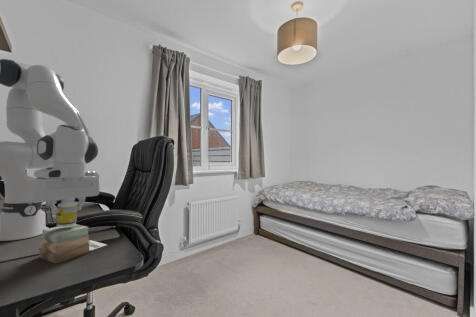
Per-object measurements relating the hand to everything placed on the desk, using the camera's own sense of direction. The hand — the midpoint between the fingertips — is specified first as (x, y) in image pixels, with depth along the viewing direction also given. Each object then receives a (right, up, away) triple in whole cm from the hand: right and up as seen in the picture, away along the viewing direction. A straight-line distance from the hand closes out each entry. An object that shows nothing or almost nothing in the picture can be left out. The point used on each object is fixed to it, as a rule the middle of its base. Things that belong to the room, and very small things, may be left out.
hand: (67, 211), depth 75 cm
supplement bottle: (0, -5, 0) cm, 5 cm away
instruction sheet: (+2, -15, +8) cm, 17 cm away
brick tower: (0, -15, 0) cm, 15 cm away
